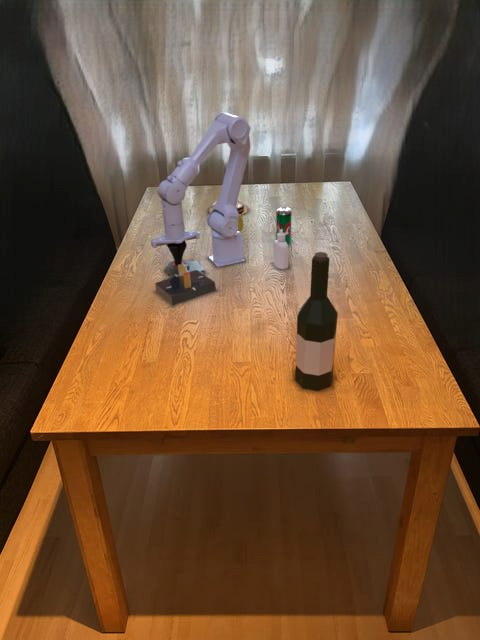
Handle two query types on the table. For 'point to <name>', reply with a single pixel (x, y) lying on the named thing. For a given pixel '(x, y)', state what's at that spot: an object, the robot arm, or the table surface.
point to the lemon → (240, 223)
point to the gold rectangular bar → (184, 276)
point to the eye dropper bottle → (281, 251)
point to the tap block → (178, 293)
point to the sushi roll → (239, 206)
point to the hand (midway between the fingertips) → (178, 264)
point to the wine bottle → (316, 331)
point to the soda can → (284, 222)
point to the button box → (189, 266)
